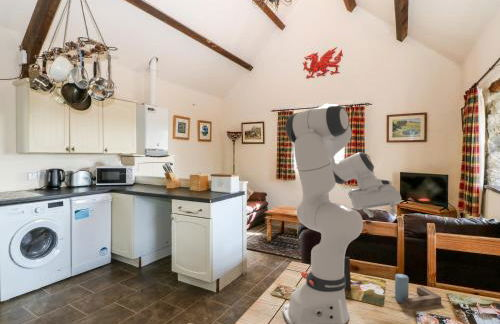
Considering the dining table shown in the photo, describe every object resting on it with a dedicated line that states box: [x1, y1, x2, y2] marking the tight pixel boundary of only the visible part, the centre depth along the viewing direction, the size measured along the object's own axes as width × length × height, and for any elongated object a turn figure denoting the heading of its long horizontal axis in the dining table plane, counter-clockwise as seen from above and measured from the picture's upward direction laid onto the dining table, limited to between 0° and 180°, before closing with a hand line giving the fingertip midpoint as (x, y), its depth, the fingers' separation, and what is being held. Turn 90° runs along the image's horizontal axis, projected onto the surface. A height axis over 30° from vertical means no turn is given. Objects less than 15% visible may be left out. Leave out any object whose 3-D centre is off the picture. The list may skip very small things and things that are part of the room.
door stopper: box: [344, 255, 352, 291], centre depth 115 cm, size 9×6×12 cm, turn 167°
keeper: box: [394, 273, 410, 304], centre depth 102 cm, size 4×4×9 cm
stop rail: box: [404, 285, 442, 309], centre depth 102 cm, size 14×8×2 cm, turn 101°
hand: (382, 215), depth 113 cm, fingers open, 8 cm apart
